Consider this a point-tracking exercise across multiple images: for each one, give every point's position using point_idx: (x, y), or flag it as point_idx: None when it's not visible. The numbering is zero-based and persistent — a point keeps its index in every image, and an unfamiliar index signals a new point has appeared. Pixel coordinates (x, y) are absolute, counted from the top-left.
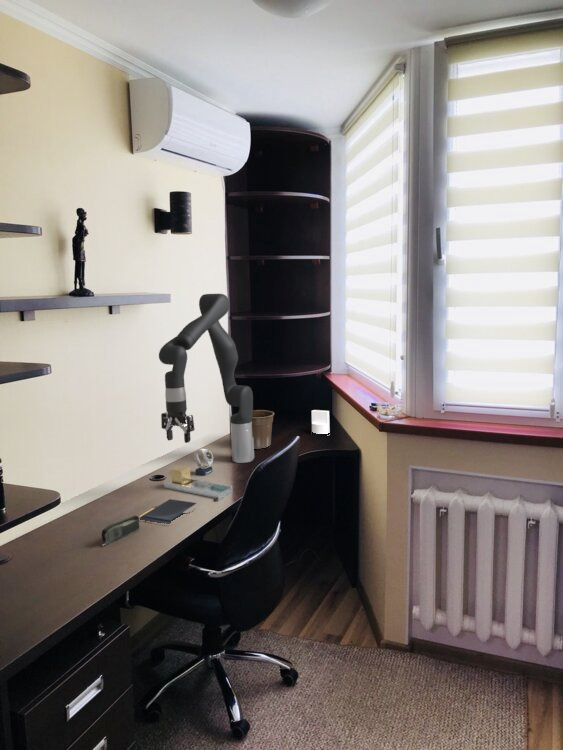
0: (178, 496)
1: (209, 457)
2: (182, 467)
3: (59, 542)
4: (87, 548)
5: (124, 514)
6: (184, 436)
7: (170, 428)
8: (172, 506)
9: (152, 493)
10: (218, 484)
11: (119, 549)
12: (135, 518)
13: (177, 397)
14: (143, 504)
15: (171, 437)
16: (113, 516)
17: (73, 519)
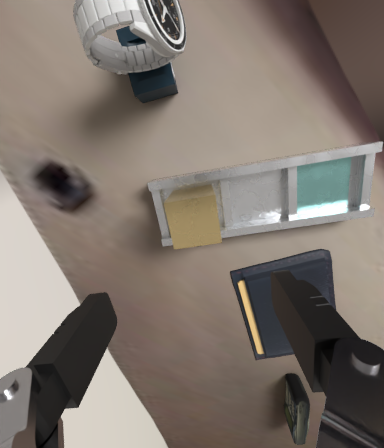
0: (234, 245)
1: (171, 15)
2: (192, 213)
3: (227, 436)
4: (279, 430)
5: (219, 355)
6: (298, 355)
7: (40, 406)
8: None
9: (164, 267)
10: (327, 160)
11: None
12: (309, 405)
13: None
14: (206, 313)
15: (101, 313)
16: (210, 367)
17: (166, 399)
